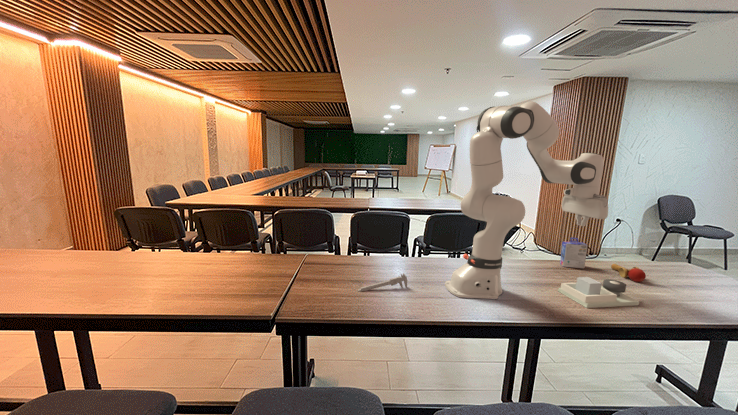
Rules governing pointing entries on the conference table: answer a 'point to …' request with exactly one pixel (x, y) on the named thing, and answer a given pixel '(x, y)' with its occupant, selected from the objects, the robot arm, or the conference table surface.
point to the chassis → (597, 297)
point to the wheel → (614, 285)
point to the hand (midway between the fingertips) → (580, 225)
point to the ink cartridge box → (573, 253)
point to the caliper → (387, 283)
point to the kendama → (630, 273)
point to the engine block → (588, 286)
